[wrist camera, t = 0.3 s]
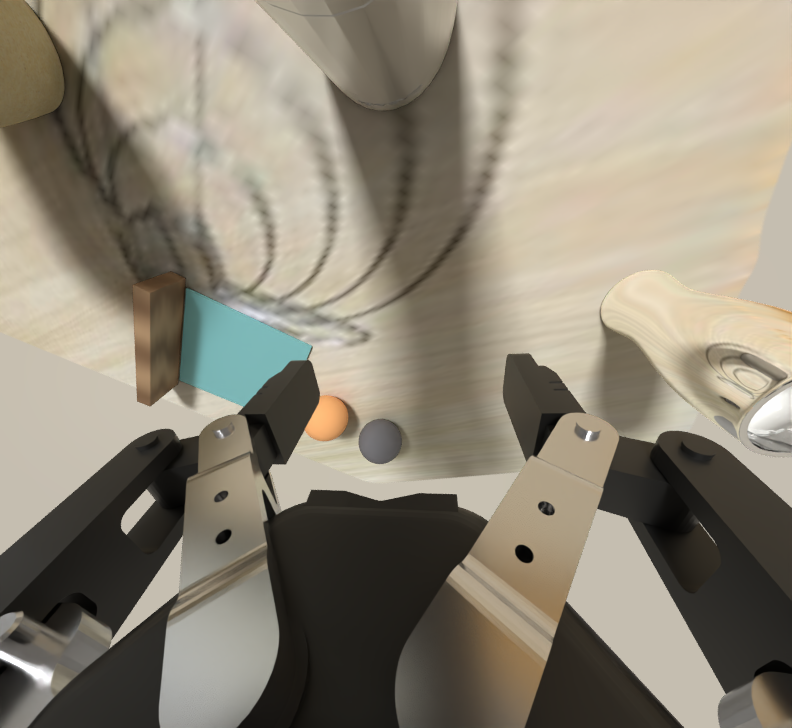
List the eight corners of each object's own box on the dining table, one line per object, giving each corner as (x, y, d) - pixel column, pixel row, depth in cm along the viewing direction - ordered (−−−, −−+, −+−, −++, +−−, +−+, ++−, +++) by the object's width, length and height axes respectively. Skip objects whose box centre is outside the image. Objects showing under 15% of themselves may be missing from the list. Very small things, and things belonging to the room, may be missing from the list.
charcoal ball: (358, 411, 37) (349, 444, 33) (399, 409, 36) (395, 442, 32) (368, 440, 40) (360, 473, 35) (406, 438, 39) (403, 472, 35)
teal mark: (180, 379, 37) (179, 380, 37) (187, 287, 30) (186, 288, 30) (282, 421, 40) (281, 422, 39) (312, 346, 32) (311, 346, 32)
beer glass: (617, 348, 29) (761, 476, 16) (580, 303, 27) (713, 412, 14) (695, 301, 26) (948, 416, 13) (660, 246, 24) (922, 321, 11)
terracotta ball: (305, 388, 36) (287, 418, 31) (346, 384, 35) (334, 415, 30) (318, 419, 39) (304, 451, 34) (357, 417, 38) (347, 450, 33)
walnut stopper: (178, 383, 37) (150, 406, 34) (166, 379, 37) (137, 401, 33) (185, 278, 29) (150, 292, 25) (170, 271, 29) (132, 284, 25)
